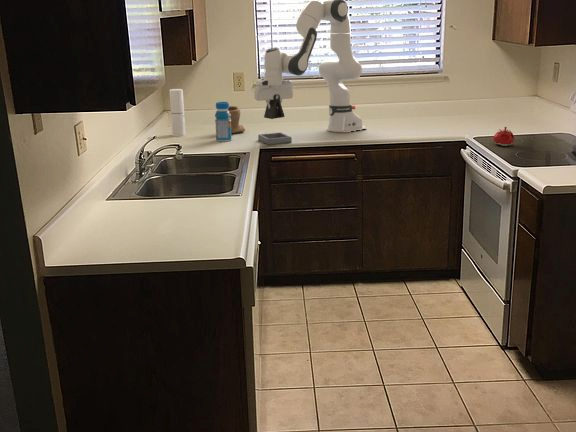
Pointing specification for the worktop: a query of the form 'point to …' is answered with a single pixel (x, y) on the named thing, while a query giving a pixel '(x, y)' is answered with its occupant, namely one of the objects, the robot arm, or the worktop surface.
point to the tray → (274, 138)
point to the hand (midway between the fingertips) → (274, 108)
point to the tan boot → (235, 120)
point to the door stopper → (274, 109)
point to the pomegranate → (504, 137)
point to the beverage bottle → (223, 122)
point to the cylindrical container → (177, 112)
